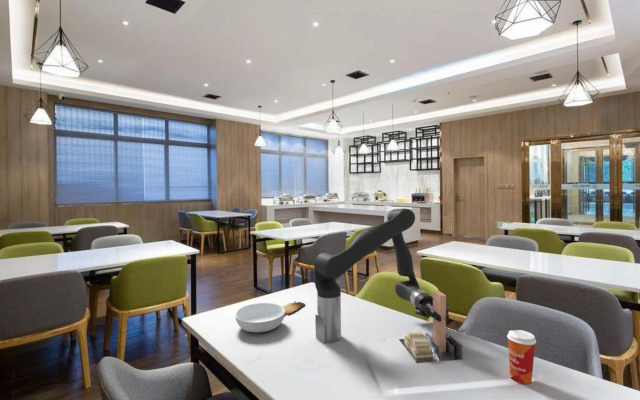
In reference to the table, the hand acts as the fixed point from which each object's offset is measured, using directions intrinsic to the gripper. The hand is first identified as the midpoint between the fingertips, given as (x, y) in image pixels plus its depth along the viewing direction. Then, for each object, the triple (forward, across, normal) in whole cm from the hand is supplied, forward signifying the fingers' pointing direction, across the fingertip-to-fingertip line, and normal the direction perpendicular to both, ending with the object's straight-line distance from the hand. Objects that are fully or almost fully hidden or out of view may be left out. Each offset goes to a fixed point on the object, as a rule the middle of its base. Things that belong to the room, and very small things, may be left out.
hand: (443, 318), depth 115 cm
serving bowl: (-33, -65, +14) cm, 74 cm away
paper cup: (+16, +17, +13) cm, 27 cm away
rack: (-3, -4, +13) cm, 14 cm away
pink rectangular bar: (-3, 0, +12) cm, 12 cm away
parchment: (-50, -54, +14) cm, 75 cm away
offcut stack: (-3, -8, +12) cm, 15 cm away
